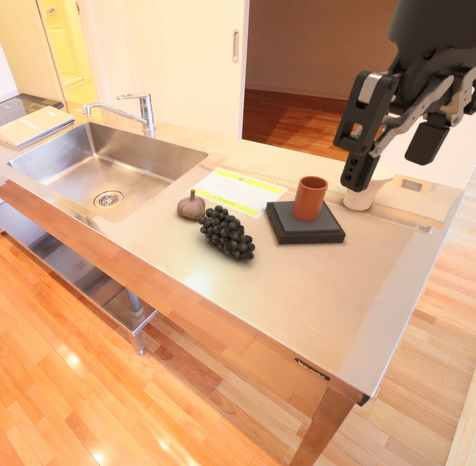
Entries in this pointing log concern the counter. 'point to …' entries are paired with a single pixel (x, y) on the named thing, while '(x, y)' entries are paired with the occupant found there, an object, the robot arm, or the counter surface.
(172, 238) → the counter surface
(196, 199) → the garlic bulb
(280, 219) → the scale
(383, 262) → the counter surface
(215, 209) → the fruit
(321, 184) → the terracotta cup
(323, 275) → the counter surface
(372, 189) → the cup
